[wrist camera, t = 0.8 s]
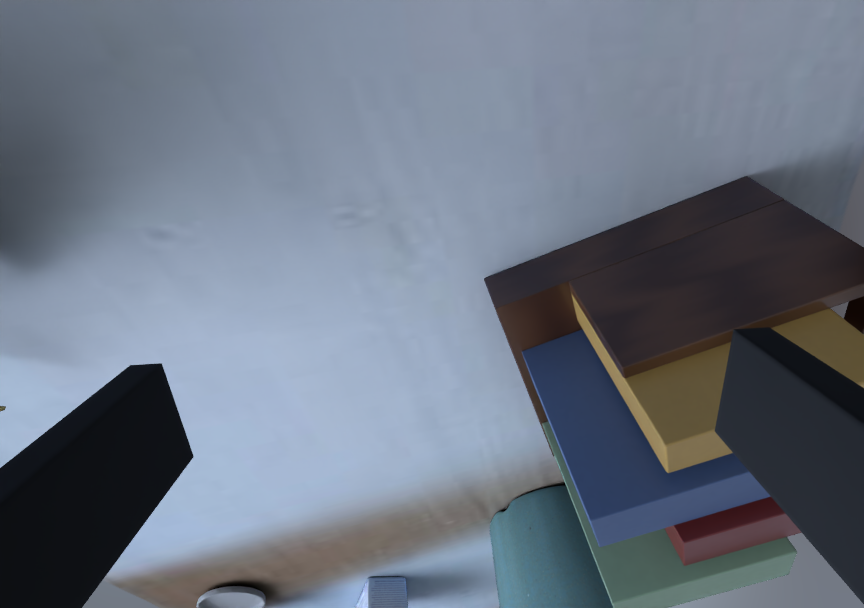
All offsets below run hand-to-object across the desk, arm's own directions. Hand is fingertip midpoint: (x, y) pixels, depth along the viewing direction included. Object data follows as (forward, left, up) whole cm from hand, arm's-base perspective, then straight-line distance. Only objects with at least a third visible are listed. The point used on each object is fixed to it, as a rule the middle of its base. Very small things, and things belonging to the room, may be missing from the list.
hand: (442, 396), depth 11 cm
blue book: (+11, +10, -11) cm, 19 cm away
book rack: (+13, +13, -14) cm, 23 cm away
